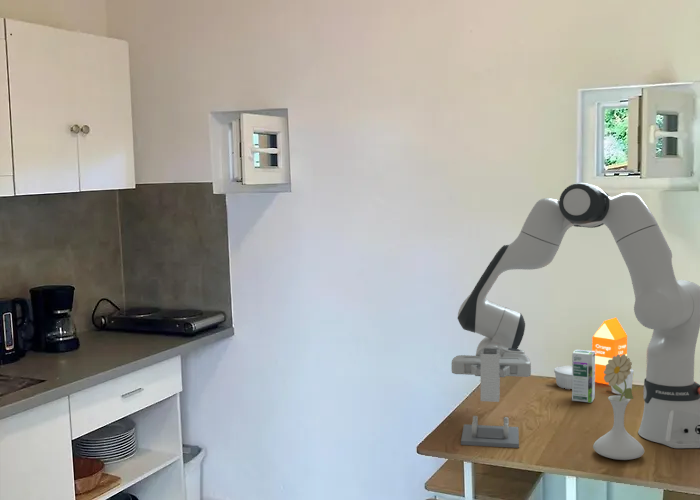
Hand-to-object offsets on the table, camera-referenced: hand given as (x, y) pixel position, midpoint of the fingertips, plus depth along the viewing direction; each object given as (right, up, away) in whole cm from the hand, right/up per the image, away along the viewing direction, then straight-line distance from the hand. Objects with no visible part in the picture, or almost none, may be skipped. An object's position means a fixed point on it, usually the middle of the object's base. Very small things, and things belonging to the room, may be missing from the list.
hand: (490, 373), depth 194 cm
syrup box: (+34, -13, +34) cm, 50 cm away
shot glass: (+47, -12, +41) cm, 64 cm away
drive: (0, -6, +1) cm, 7 cm away
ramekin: (+35, -12, +49) cm, 61 cm away
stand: (0, -17, +2) cm, 17 cm away
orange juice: (+48, -11, +54) cm, 74 cm away
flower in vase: (+28, -18, -13) cm, 35 cm away
